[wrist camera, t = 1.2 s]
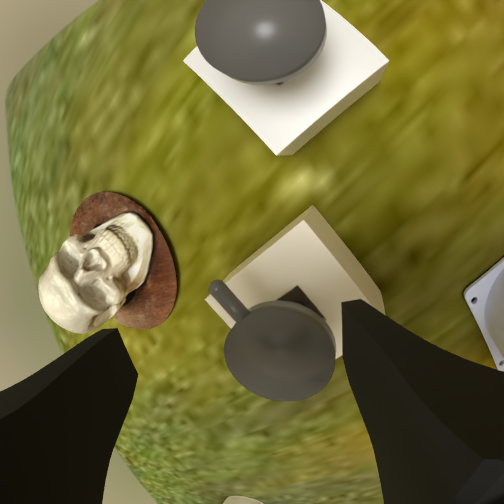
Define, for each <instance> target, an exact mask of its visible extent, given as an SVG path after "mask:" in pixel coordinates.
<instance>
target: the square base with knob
mask: <svg viewBox="0 0 504 504" xmlns="http://www.w3.org/2000/svg"><path fill="white" fill-rule="evenodd" d="M320 2H321V4H322V6H323V10H324V14H325V19H326V26H327V37H326V41H325V45H324V47H323V50H322V52H321V53H320V55H319V57H318V58H317V59H316V61H315V62H314V63H313V64H312V65H311V66H310V67H309V68H308V69H307V70H305V71H304V72H302V73H301V74H299V75H298V76H296V77H294V78H292V79H289V80H287V81H284V82H281V83H276V84H271V85H252V84H246V83H242V82H239V81H236V80H234V79H232V78H230V77H228V76H227V75H225V74H223V73H222V72H220V71H218V70H217V69H215V68H214V67H212V66H211V65H210V64H209V63H208V62H207V61H206V60H205V59H204V57H203V56H202V55H201V53H200V51H199V49H198V46H197V47H196V48H195V49H194V50H193V51H192V52H191V53H190V54H189V55H188V56H187V57H186V58H185V59H184V60H183V61H184V62H185V63H186V64H187V65H188V66H189V67H190V68H191V69H192V70H193V71H194V72H195V73H197V74H198V75H199V76H200V77H201V78H202V79H203V80H204V81H205V82H206V83H207V84H208V85H209V86H210V87H211V88H212V89H213V90H214V91H215V92H216V93H217V94H218V95H219V96H220V97H221V98H222V99H223V100H224V101H225V102H226V103H227V104H228V105H229V106H230V107H231V108H232V109H233V110H234V111H235V112H236V113H237V114H238V115H239V116H240V117H241V118H242V119H243V120H244V121H245V122H246V123H247V124H248V125H249V127H250V128H251V129H252V130H253V131H254V132H255V133H256V134H257V135H258V136H259V137H260V138H261V139H262V140H263V141H264V143H265V144H266V145H267V146H268V147H269V148H270V149H271V150H272V151H273V152H274V153H275V155H276V156H281V155H293V154H294V153H295V152H297V151H298V150H299V149H300V148H301V147H302V146H303V145H305V144H306V143H307V142H308V141H309V140H310V139H312V138H313V137H314V136H315V135H316V134H317V133H319V132H320V131H321V130H322V129H323V128H324V127H326V126H327V125H328V124H329V123H330V122H331V121H333V120H334V119H335V118H336V117H337V116H339V115H340V114H341V113H342V112H343V111H345V110H346V109H347V108H348V107H349V106H351V105H352V104H353V103H354V102H355V101H357V100H358V99H359V98H360V97H362V96H363V95H364V94H365V93H366V92H368V91H369V90H370V89H371V88H373V87H374V86H375V85H376V84H378V83H379V81H380V79H381V77H382V75H383V73H384V71H385V69H386V67H387V65H388V63H389V60H388V59H387V58H386V57H385V56H384V55H383V54H382V53H381V52H380V51H379V50H378V49H377V48H376V47H375V46H374V45H373V44H372V43H371V42H370V41H369V40H368V39H367V38H366V37H364V36H363V35H362V34H361V33H360V32H359V31H358V30H357V29H356V28H354V27H353V26H352V25H351V24H350V23H349V22H347V21H346V20H345V19H344V18H343V17H342V16H340V15H339V14H338V13H337V12H335V11H334V10H333V9H332V8H330V7H329V6H328V5H327V4H325V3H324V2H323V1H321V0H320Z"/></svg>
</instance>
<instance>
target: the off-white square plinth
mask: <svg viewBox="0 0 504 504" xmlns="http://www.w3.org/2000/svg"><path fill="white" fill-rule="evenodd" d="M223 282H224V283H225V284H226V285H227V286H228V288H229V289H230V290H231V291H232V292H233V293H234V294H235V295H236V297H237V298H238V299H239V300H240V301H241V302H242V303H243V304H244V306H245V307H246V308H247V309H249V308H251V307H252V306H255V305H257V304H259V303H263V302H267V301H289V302H290V301H293V300H297V301H300V302H302V303H304V304H305V306H306V307H307V308H309V309H311V310H313V311H314V312H316V313H317V314H318V315H319V316H321V317H322V318H323V319H324V320H325V321H326V323H327V324H328V325H329V327H330V328H331V330H332V332H333V335H334V337H335V342H336V358H335V359H337V358H338V357H340V356H342V308H341V302H345V301H351V300H357V299H362V300H364V301H365V302H367V303H368V304H370V305H371V306H373V307H374V308H375V309H377V310H378V311H380V312H381V313H383V314H384V315H386V314H385V309H384V304H383V299H382V294H381V291H380V289H379V288H378V287H377V285H376V284H375V283H374V281H373V280H372V279H371V277H370V276H369V275H368V273H367V272H366V271H365V269H364V268H363V267H362V265H361V264H360V263H359V261H358V260H357V259H356V258H355V256H354V255H353V254H352V252H351V251H350V250H349V249H348V247H347V246H346V245H345V243H344V242H343V241H342V240H341V238H340V237H339V236H338V235H337V233H336V232H335V231H334V230H333V228H332V227H331V226H330V225H329V224H328V222H327V221H326V220H325V219H324V217H323V216H322V215H321V214H320V213H319V211H318V210H317V209H316V208H315V207H314V205H312V206H310V207H309V208H308V209H307V210H306V211H304V212H303V213H302V214H301V215H300V216H298V217H297V218H296V219H295V220H293V221H292V222H291V223H290V224H289V225H287V226H286V227H285V228H284V229H282V230H281V231H280V232H279V233H278V234H276V235H275V236H274V237H273V238H272V239H270V240H269V241H268V242H267V243H265V244H264V245H263V246H262V247H261V248H259V249H258V250H257V251H256V252H254V253H253V254H252V255H251V256H250V257H248V258H247V259H246V260H245V261H243V262H242V263H241V264H240V265H239V266H237V267H236V268H235V269H234V270H232V271H231V273H230V274H229V275H228V276H227V277H226V278H225V279H224V280H223ZM205 300H206V301H207V302H208V304H209V305H210V306H211V307H212V308H213V309H214V310H215V311H216V313H217V314H218V315H219V316H220V317H221V318H222V319H223V320H224V321H225V323H226V324H227V325H228V326H229V327H230V328H231V329H232V327H233V326H234V324H235V323H236V322H235V321H234V320H233V319H232V317H231V316H230V315H229V314H228V313H227V312H226V311H225V310H224V309H223V307H222V306H221V305H220V304H219V303H218V302H217V301H216V300H215V298H214V297H213V296H212V295H211V294H210V295H209V296H208V297H207V298H206V299H205Z"/></svg>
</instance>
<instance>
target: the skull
mask: <svg viewBox="0 0 504 504" xmlns="http://www.w3.org/2000/svg"><path fill="white" fill-rule="evenodd" d="M72 220H73V221H72V223H71V231H70V237H69V238H68V239H67V240H66V241H65V242H64V243H63V245H62V247H61V249H60V251H59V252H57V253H56V254H55V255H54V256H53V257H52V258H51V260H50V263H49V266H48V268H47V269H46V271H45V272H44V273H43V274H42V275H41V277H40V280H39V297H40V301H41V304H42V306H43V308H44V310H45V311H46V313H47V314H48V315H49V317H50V318H51V319H52V320H53V321H54V322H55V323H56V324H58V325H59V326H61V327H63V328H64V329H67V330H69V331H71V332H74V333H88V332H92V331H94V330H95V329H97V328H98V327H100V326H101V325H102V324H104V323H105V322H106V321H107V320H109V319H110V318H112V317H113V316H115V317H114V318H116V319H117V320H118V322H120V323H121V324H123V325H124V326H128V327H130V328H135V329H150V328H153V327H155V326H157V325H159V324H161V323H162V322H163V321H164V320H165V319H166V318H167V317H168V315H169V314H170V312H171V310H172V308H173V306H174V302H175V298H176V291H177V284H176V272H175V267H174V263H173V260H172V256H171V253H170V250H169V248H168V246H167V243H166V241H165V239H164V237H163V235H162V233H161V232H160V230H159V228H158V226H157V225H156V224H155V222H154V221H153V220H152V218H151V216H150V215H148V214H147V213H146V211H145V210H144V209H143V208H142V207H141V206H139V205H138V204H136V203H135V202H134V201H132V200H130V199H129V198H127V197H125V196H122V195H119V194H118V193H113V192H99V193H96V194H93V195H91V196H89V197H88V198H86V199H85V200H84V201H83V202H82V203H81V204H80V206H79V207H78V208H77V211H76V213H75V214H74V216H73V219H72ZM173 294H174V295H173Z"/></svg>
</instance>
